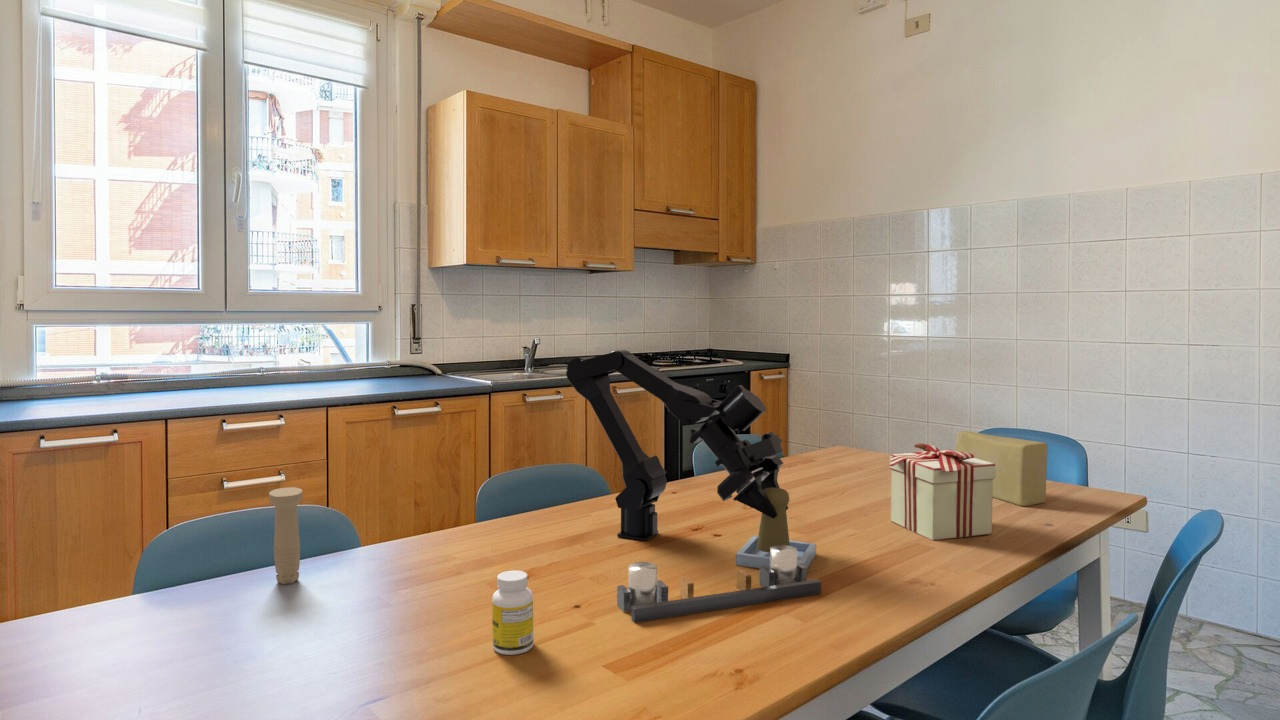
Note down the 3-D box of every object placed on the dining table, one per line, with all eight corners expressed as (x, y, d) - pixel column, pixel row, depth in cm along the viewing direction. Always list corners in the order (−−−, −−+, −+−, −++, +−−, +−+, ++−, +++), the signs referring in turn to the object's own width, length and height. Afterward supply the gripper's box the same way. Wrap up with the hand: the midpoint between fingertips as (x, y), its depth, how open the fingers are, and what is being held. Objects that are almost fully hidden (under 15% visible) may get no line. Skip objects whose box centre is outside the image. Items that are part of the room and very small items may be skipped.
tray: (735, 564, 132) (735, 553, 132) (753, 545, 143) (753, 535, 143) (803, 574, 128) (803, 563, 127) (816, 554, 139) (816, 543, 138)
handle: (271, 590, 118) (269, 497, 118) (271, 577, 124) (268, 489, 123) (305, 585, 121) (303, 494, 120) (302, 573, 126) (300, 486, 125)
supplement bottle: (494, 638, 102) (494, 568, 101) (534, 637, 102) (534, 567, 101) (490, 657, 96) (489, 583, 96) (532, 655, 97) (532, 582, 96)
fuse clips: (615, 603, 114) (615, 565, 114) (794, 577, 126) (794, 542, 126) (633, 623, 107) (634, 582, 107) (821, 593, 119) (822, 557, 119)
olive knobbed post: (796, 551, 134) (798, 490, 134) (769, 554, 131) (771, 493, 131) (776, 541, 140) (778, 483, 139) (750, 545, 137) (751, 486, 136)
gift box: (873, 523, 160) (875, 443, 159) (941, 515, 167) (943, 439, 165) (930, 546, 144) (932, 458, 143) (1002, 537, 151) (1005, 453, 150)
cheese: (942, 488, 193) (944, 431, 192) (966, 484, 198) (968, 428, 197) (1022, 507, 174) (1025, 444, 173) (1047, 503, 179) (1050, 441, 178)
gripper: (734, 425, 128) (794, 497, 123) (774, 413, 144) (828, 477, 139) (693, 465, 133) (749, 536, 128) (736, 449, 149) (787, 512, 144)
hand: (781, 513), depth 135 cm, fingers closed on olive knobbed post, 5 cm apart
